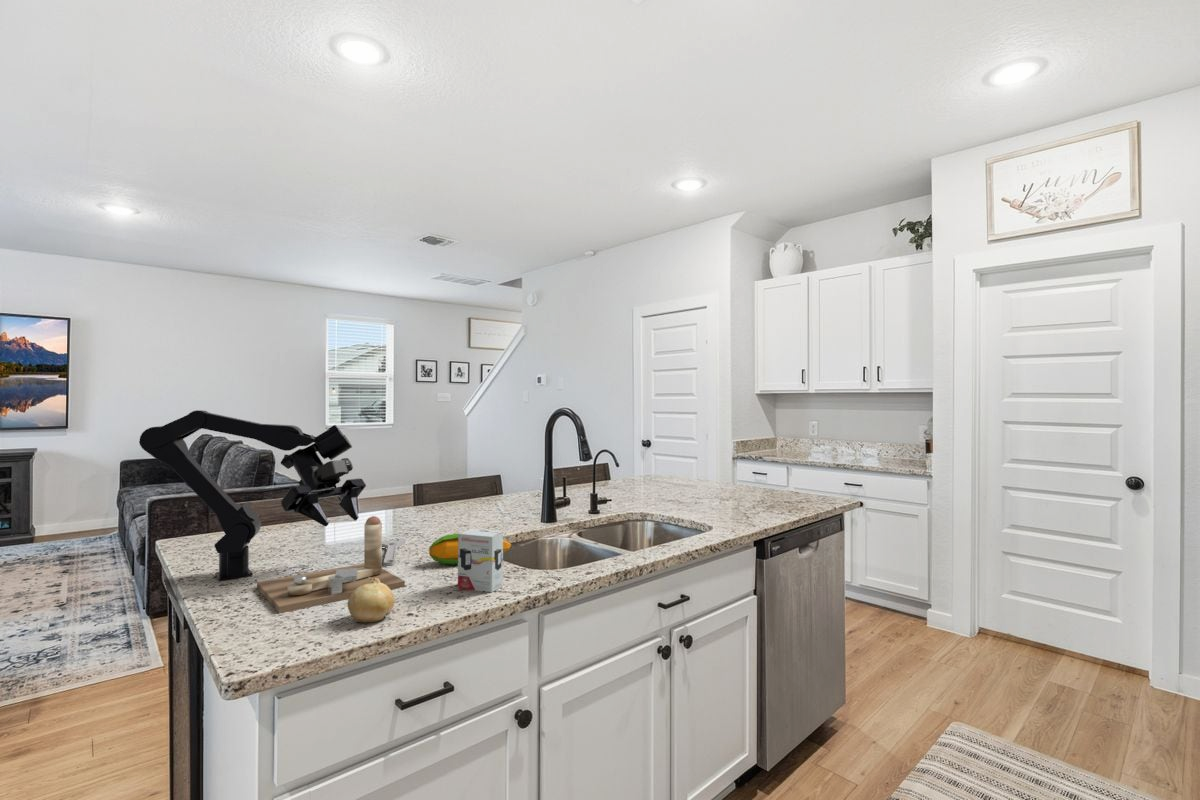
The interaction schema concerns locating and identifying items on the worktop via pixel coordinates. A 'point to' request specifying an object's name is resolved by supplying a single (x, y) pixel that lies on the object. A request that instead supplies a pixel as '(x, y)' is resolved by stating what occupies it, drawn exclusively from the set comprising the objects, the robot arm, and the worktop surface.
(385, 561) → the adjustable wrench
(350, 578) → the keeper
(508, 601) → the worktop surface
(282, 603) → the walnut board
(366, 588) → the onion
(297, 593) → the wooden crank lever
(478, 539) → the ink box
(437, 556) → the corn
